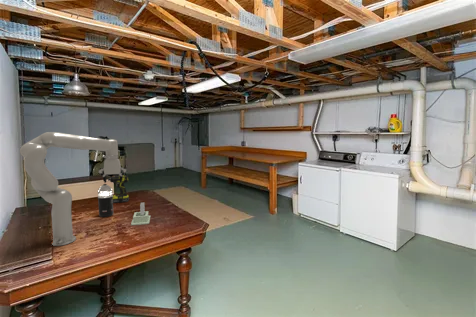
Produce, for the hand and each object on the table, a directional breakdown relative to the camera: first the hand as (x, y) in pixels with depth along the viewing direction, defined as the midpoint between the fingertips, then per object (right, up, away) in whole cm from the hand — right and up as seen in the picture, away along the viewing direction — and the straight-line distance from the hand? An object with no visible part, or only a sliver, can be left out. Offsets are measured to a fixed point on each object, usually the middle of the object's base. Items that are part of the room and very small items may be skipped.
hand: (113, 182), depth 172 cm
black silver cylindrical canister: (-16, -28, +21) cm, 39 cm away
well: (+15, -30, +11) cm, 35 cm away
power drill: (-24, -24, +59) cm, 69 cm away
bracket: (+15, -29, +11) cm, 34 cm away
